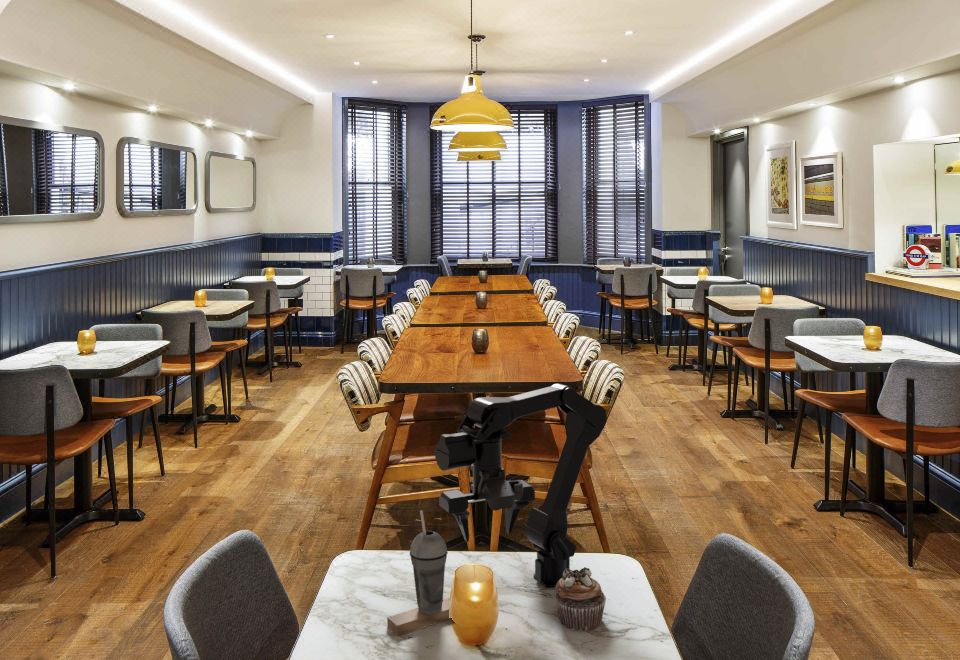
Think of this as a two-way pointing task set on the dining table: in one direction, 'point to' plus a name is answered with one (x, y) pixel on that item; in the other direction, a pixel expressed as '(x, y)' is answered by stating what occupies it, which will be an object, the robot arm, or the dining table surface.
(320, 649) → the dining table surface
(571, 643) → the dining table surface
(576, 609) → the cupcake
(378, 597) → the dining table surface
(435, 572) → the beverage cup
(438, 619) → the walnut block
